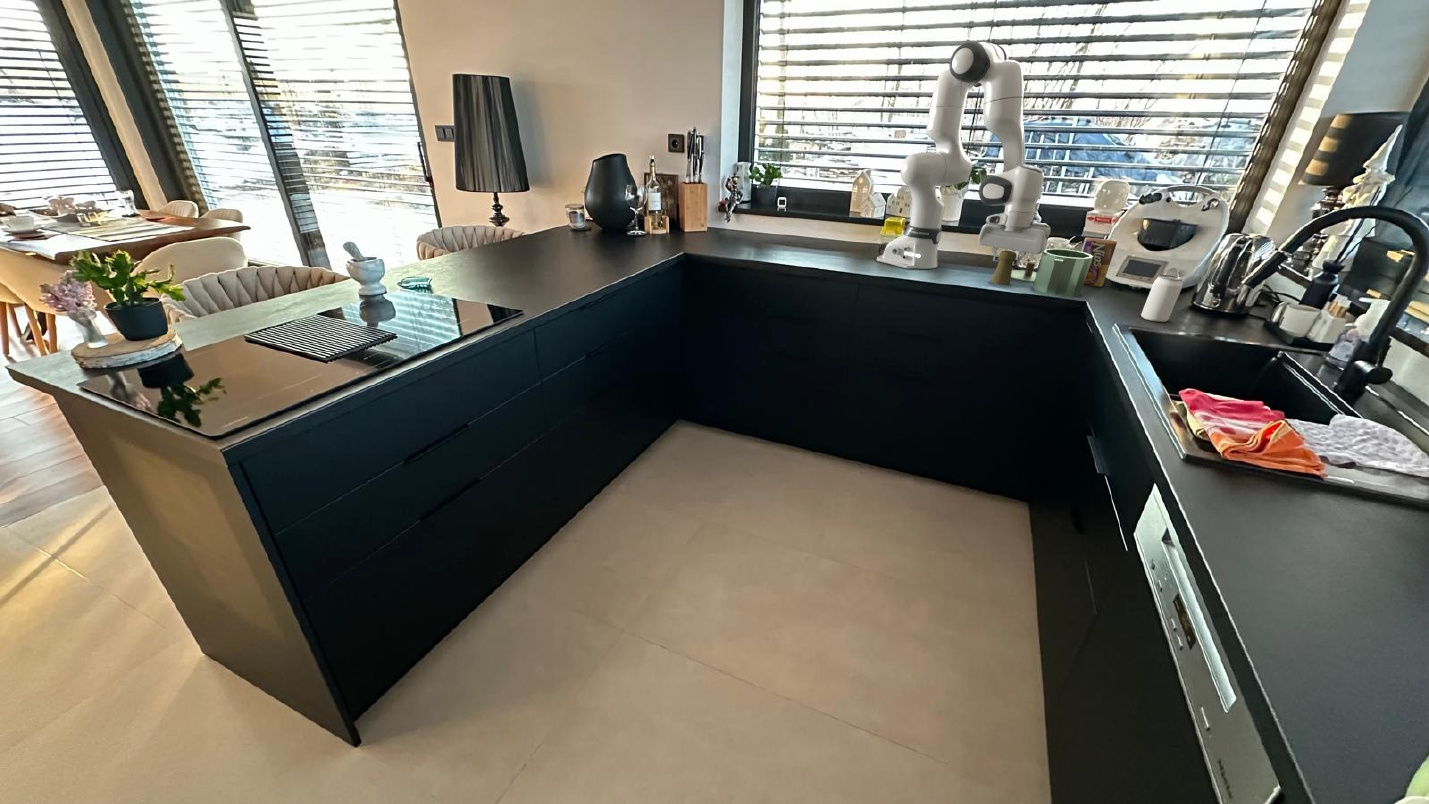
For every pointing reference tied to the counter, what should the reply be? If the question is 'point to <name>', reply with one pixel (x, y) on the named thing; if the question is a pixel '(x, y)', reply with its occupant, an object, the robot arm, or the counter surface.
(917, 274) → the counter surface
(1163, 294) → the can
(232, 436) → the counter surface
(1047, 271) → the pot
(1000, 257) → the cork
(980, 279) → the counter surface
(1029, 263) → the lid
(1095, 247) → the candy box
